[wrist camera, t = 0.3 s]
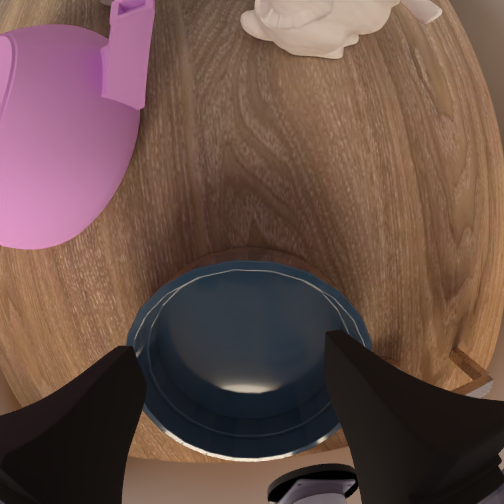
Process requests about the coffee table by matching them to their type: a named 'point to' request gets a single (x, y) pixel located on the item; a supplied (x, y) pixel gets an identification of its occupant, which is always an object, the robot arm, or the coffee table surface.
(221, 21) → the coffee table surface
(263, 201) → the coffee table surface
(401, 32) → the coffee table surface
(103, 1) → the energy drink can
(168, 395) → the bowl
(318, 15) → the white lumpy figure
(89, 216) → the teapot
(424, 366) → the coffee table surface
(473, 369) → the disc with bar handle
